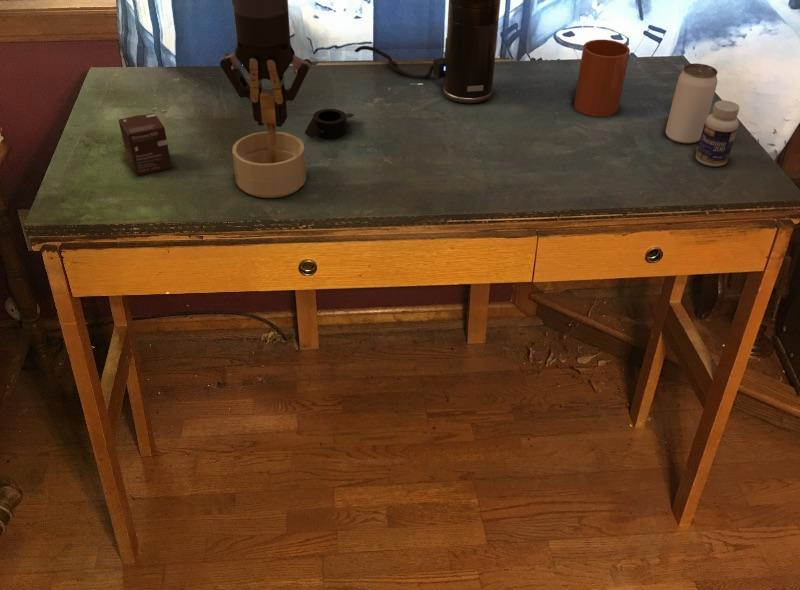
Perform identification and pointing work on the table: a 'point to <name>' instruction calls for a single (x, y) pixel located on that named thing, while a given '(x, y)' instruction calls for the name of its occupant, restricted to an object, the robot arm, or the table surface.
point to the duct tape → (328, 124)
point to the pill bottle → (718, 134)
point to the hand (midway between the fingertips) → (270, 123)
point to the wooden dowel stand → (269, 120)
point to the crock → (601, 77)
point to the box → (145, 143)
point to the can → (691, 103)
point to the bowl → (269, 165)
